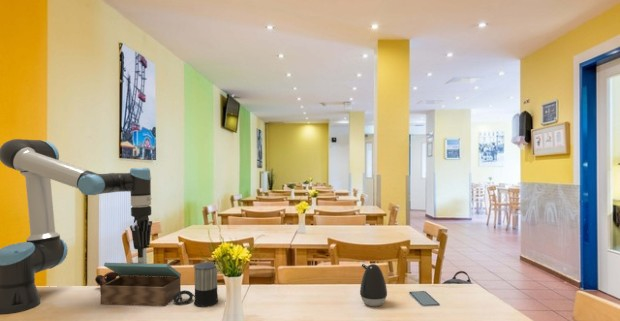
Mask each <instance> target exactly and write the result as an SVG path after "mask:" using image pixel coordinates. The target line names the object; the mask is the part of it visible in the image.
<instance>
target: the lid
mask: <svg viewBox="0 0 620 321" xmlns="http://www.w3.org/2000/svg"><path fill="white" fill-rule="evenodd" d="M103 266H104V267H105V268H107V269H109V270H111V272H116V273H118V274H119V275H121V276H152V277H180V278H181V276H182V274H181V273H180V272H179V271H178V270H176V269H175V268H174V267H173V266H171V265H170V264H168V263H147V264H146V263H138V262H129V263H128V262H104V263H103Z"/></svg>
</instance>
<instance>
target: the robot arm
mask: <svg viewBox="0 0 620 321" xmlns="http://www.w3.org/2000/svg"><path fill="white" fill-rule="evenodd" d="M0 162H1V164H3V165H4V166H5V167H7V168H10V169H12V170H15V171H18V172H20V174H21V175H22V176H23V177H24V178H25V187H26V188H25V189H26V198H27V208H28V211H27V212H28V218H29V219H28V224H29V233H30V234H29V236H28V237H27V238H26V240H25V241H26V242H17V243H12V244H8V245H5V246H4V247H1V248H0V314H1V315H2V314H12V313H18V312H23V311H26V310H30V309H32V308H35V307H37V306H39V305H40V303H41V295H40V294H39V291H38V288H37V285H36V280H35V278H36V274H37V273H39V272H42V271H46V270H49V269H50V270H51V269H53V268H55V267H57V266H59V265H60V264H62V263H63V262H64V261H65V259H66V258H67V256H68V250H69V249H68V245H67V243H66V242H65V241H64V239H62V238H61V236H60V234H59V233H58V232H57V231H56V226H55V215H54V203H53V193H52V183H51V182H52V181H56V182H59V183H61V184H64V185H67V186H70V187H72V188H75V189H78V190H79V192H81V194H82V195H86V196H96V195H102V194H111V193H118V192H130V206H131V208H130V216H131V217H132V218H134V219H133V225H129V228H130V231H131V237H132V244H133V249H134V250H137V263H146V264H148V261H147V257H148V256H147V255H148V254H147V249H149V248H150V243H151V232H152V226H153V221H152V220H150V218H149V216H151V215H152V206H151V204H152V195H151V193H152V190H151V189H152V186H151V184H152V182H151V181H152V176H151V170H150V168H149V167H132V168H130V170H129V172H127V173H126V172H111V173H110V172H109V173H98V172H97V173H96V172H93V171H90V170H88V169H85V168H82V167H79V166H76V165H73V164H70V163H68V162H65V161H61V160H60V152H59V150H58V148H57V146H55V145H54V144H53V143H51V142H50V141H47V140H42V139H21V138H15V139H14V138H13V139H10V140H8V141H5V142H4V143H2V145H0ZM51 180H52V181H51Z"/></svg>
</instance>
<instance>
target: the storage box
mask: <svg viewBox="0 0 620 321" xmlns="http://www.w3.org/2000/svg"><path fill="white" fill-rule="evenodd" d="M99 286H100V285H99ZM180 291H182V288H181V277H157V276H120V277H119V276H117V277H116V279H114V280H112V281H110V282H108V283H106V284H104V285H102V286H100V305H106V306H107V305H113V306H115V305H116V306H140V307H141V306H143V307H144V306H145V307H147V306H148V307H166V306H167V305H168V304H170V303H171V302H172V301H173V297H174V296H175V294H177V293H178V292H180Z"/></svg>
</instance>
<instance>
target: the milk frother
mask: <svg viewBox="0 0 620 321" xmlns="http://www.w3.org/2000/svg"><path fill="white" fill-rule="evenodd" d="M214 263H215V262H214V261H213V262H211V261H207V262H206V261H204V262H200V263H196V264H194V265H193V268H194V294H193V292H191V291H190V290H186V289H185V290H181V291H180V292H178V293H177V294H175V296H174V297H173V300H172V301H173V302H174V304H177V305H187V304H189V303H190V302H191V301H192V300H193V298H194V301H193V305H194V306H196V307H198V308H199V307H200V308H201V307H202V308H206V307H208V308H209V307H212V306H215V305H217V304H218V303H219V299H218V295H219V294H218V267H217V268H216V266H215V264H214ZM182 295H187V296H189V298H188V299H186V300H183V297H182Z"/></svg>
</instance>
